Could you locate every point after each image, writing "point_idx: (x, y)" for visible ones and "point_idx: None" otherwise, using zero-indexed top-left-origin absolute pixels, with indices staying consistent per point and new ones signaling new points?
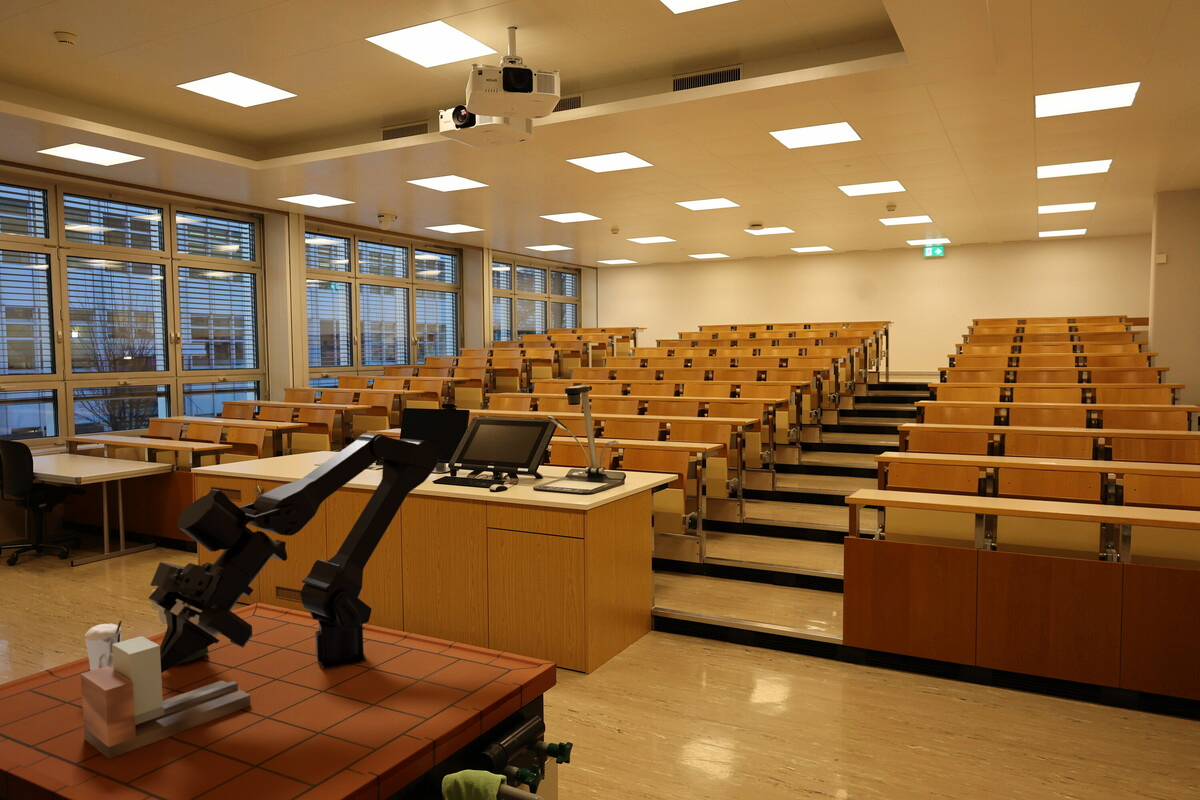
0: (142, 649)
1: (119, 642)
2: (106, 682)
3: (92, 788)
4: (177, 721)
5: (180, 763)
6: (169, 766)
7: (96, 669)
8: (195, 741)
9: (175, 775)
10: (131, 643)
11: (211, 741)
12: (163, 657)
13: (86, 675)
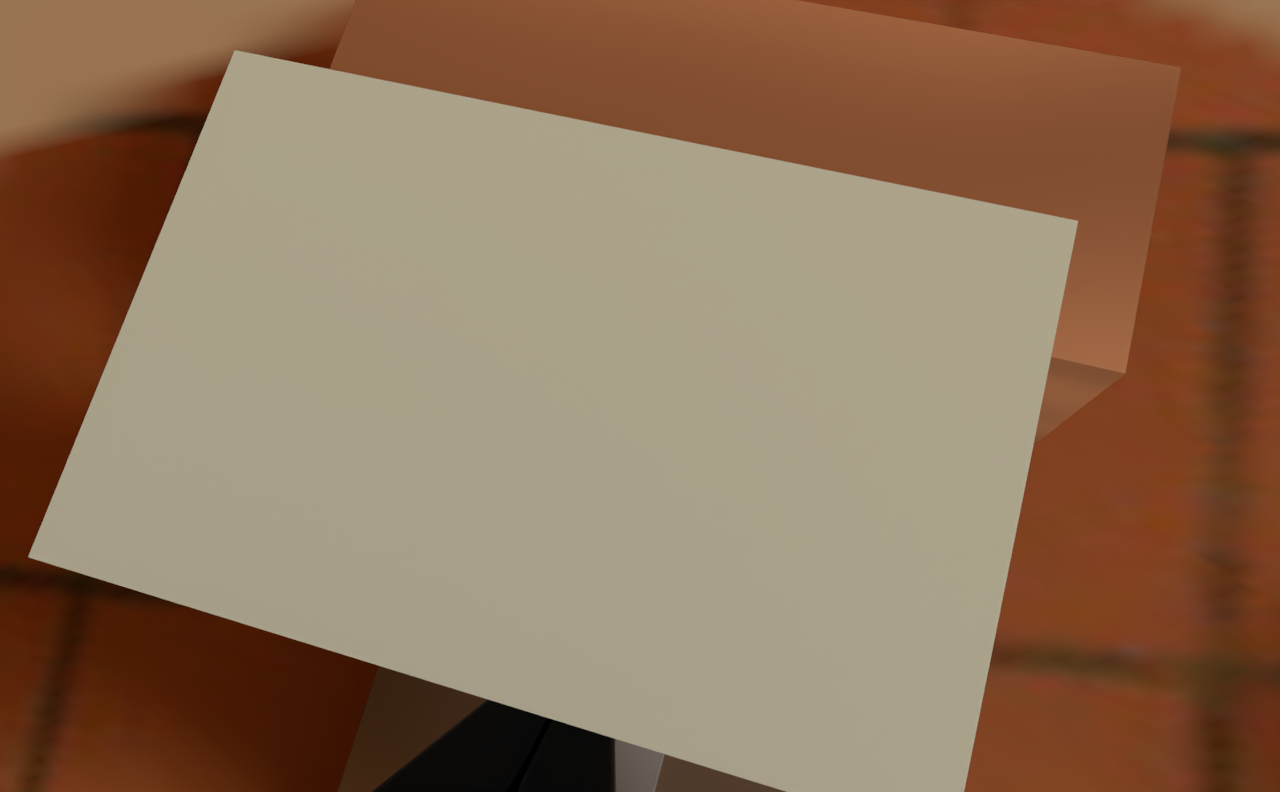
0: (193, 278)
1: (1031, 347)
2: (580, 51)
3: (345, 25)
4: (383, 678)
5: (77, 388)
6: (116, 338)
7: (1144, 241)
8: (195, 630)
9: (7, 287)
10: (712, 409)
11: (87, 673)
12: (383, 786)
13: (1043, 66)
